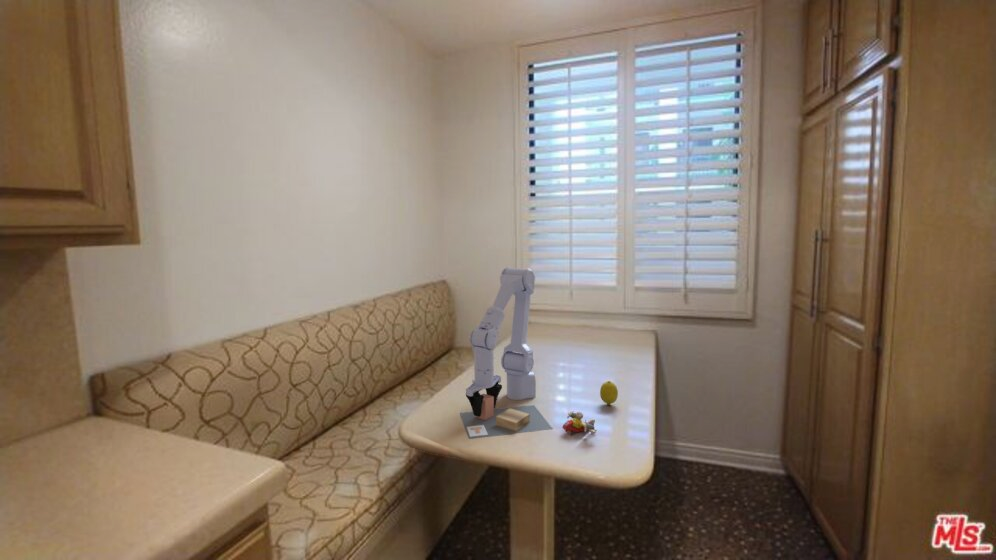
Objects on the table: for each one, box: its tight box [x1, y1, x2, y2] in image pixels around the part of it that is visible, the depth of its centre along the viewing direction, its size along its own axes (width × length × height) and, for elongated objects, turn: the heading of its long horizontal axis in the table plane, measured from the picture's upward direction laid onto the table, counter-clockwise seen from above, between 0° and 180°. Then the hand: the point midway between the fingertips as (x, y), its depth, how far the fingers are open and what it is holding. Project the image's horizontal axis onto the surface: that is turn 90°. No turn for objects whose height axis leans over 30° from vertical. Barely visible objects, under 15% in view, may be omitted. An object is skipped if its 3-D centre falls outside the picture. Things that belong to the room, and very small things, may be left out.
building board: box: [459, 404, 554, 440], centre depth 129 cm, size 24×17×1 cm
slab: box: [496, 407, 530, 431], centre depth 127 cm, size 7×7×2 cm
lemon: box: [599, 380, 619, 406], centre depth 142 cm, size 6×6×8 cm
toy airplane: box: [562, 410, 597, 437], centre depth 123 cm, size 9×9×6 cm
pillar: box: [475, 393, 495, 420], centre depth 132 cm, size 4×4×6 cm
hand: (484, 411), depth 132 cm, fingers open, 6 cm apart
